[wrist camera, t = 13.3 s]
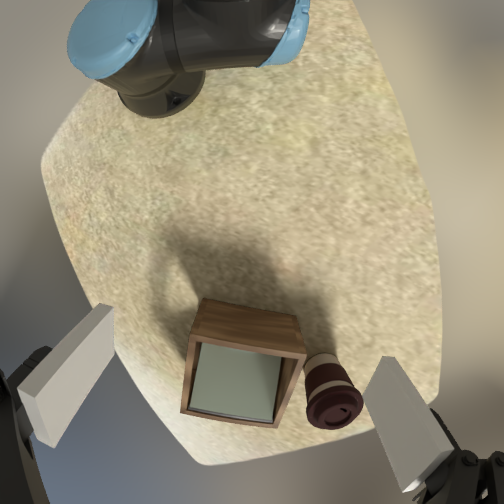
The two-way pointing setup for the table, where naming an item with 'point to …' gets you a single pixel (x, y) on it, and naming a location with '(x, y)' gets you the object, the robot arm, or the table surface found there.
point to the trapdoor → (235, 383)
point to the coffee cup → (330, 393)
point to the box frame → (246, 349)
